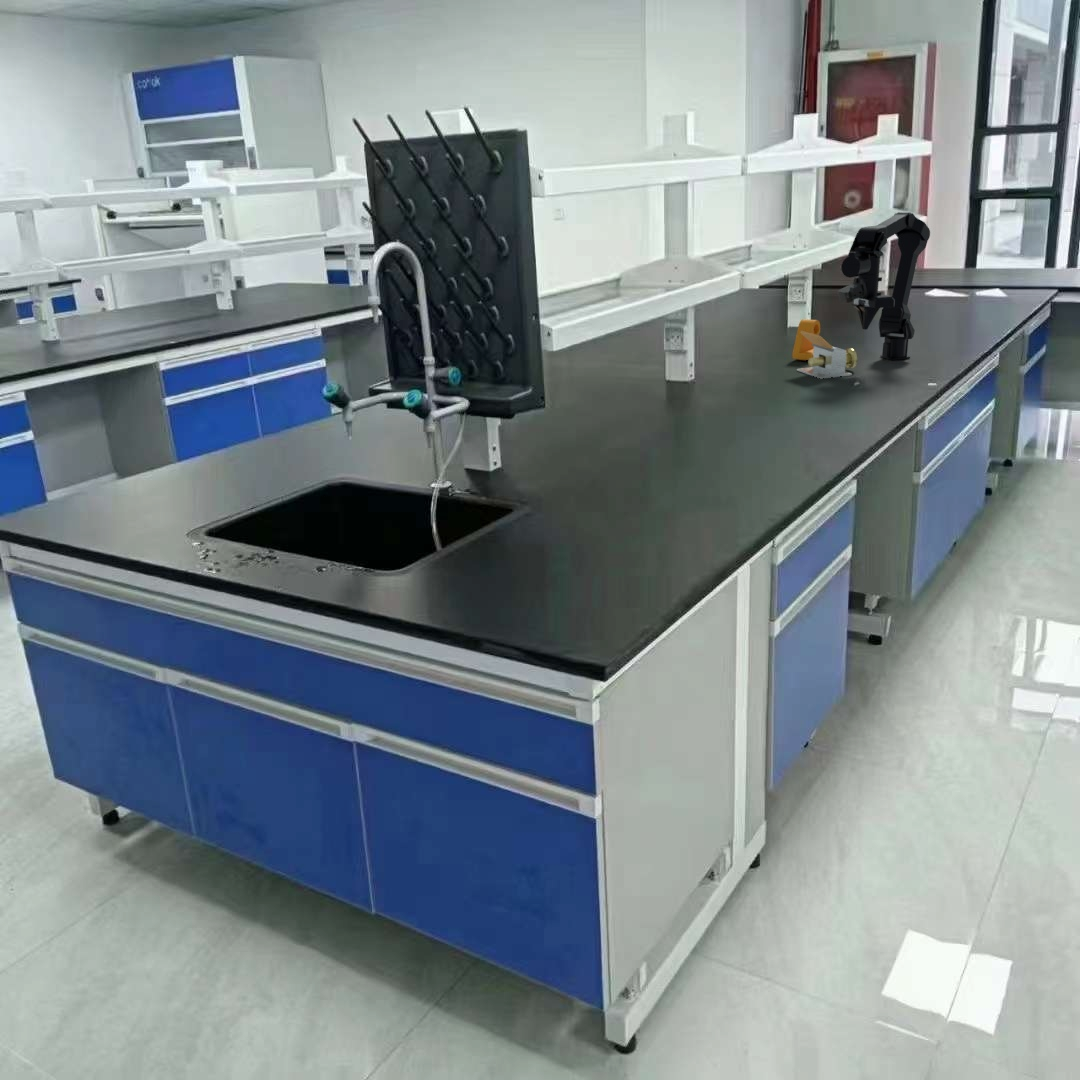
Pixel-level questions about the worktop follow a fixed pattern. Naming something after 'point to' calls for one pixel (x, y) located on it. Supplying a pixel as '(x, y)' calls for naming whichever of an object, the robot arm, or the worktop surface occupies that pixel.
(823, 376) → the hitch block
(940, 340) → the worktop surface
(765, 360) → the worktop surface
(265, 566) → the worktop surface
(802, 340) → the bracket
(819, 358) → the pin
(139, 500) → the worktop surface
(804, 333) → the tan flat plate
